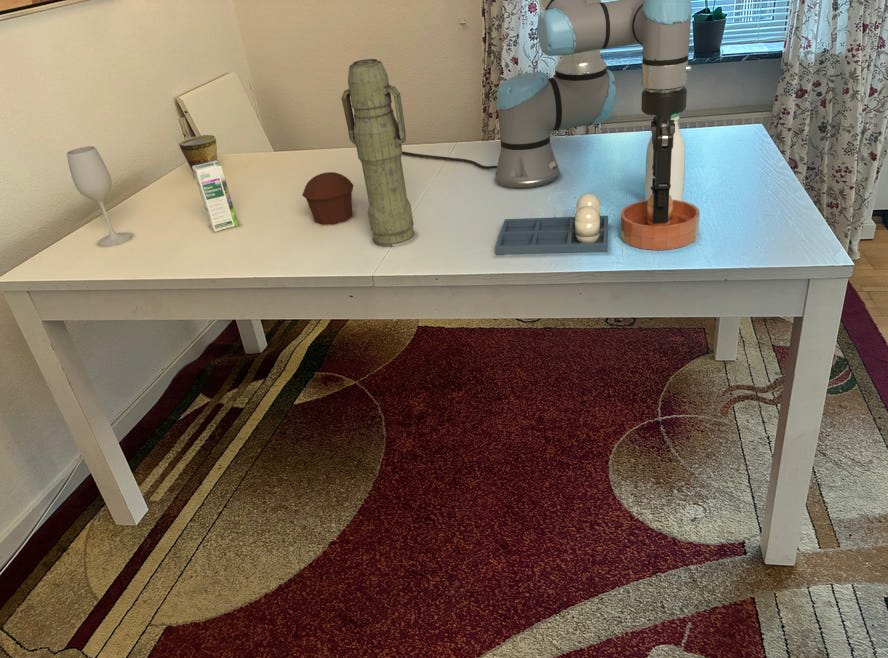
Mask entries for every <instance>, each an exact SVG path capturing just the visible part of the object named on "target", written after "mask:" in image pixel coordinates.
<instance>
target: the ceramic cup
mask: <svg viewBox="0 0 888 658" xmlns="http://www.w3.org/2000/svg"><path fill="white" fill-rule="evenodd" d="M178 145H179V149H180V151H181V152H182V155H183V156H184V158H185V159H186V161H187V164H188V166H189V168H190V170H191V171H192V174H193V176H194V177H195V175H194V172H193V169H192V166H195V165H200V164H204V163H208V162H213V161H216V160H217V161H218V146H217V138H216V136H215V135H212V134H203V135H196V136H191V137H188V138H185V139H182V140H180V141H179V142H178ZM218 162H219V161H218Z"/></svg>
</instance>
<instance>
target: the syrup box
mask: <svg viewBox="0 0 888 658" xmlns="http://www.w3.org/2000/svg"><path fill="white" fill-rule="evenodd" d="M217 160H218V159H217ZM217 160H216V161H213V162H208V163H204V164H200V165H195V166H192V169H193V172H194V174H193V176H194V175H195V176H194V178H195V181H196V184H197V187H198V191H199V194H200V197H201V200H202V203H203V204H202V205H203V207H204V210H205V214H206V216H207V220H208V223H209V226H210V228H211V229H212V230H213V231H214V232H220V231H222V230H226V229H227V230H228V229H231V228H234V227H238V226H239V221H238V218H237V214H236V211H235V208H234V204H233V201H232V197H231V194H230V191H229V187H228V184H227V183H228V182H227V180H226V177H225V174H224V169H223V166H222V165H221V163H220V162H219V161H217ZM193 172H192V173H193Z"/></svg>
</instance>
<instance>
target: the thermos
mask: <svg viewBox="0 0 888 658" xmlns="http://www.w3.org/2000/svg"><path fill="white" fill-rule="evenodd" d="M347 84H348V88H347V89H345V90H344V91H343V92H342V95H341V103H342V108H343V112H344V117H345V121H346V126H347V127H346V128H347V131H348V138H349V141H350V142H351V143H352V144H353V145H354V146H355V148H356V153H357V154H356V155H357V158H358V160H359V162H360V163H361V167H362V173H363V179H364V184H365V189H366V195H367V200H368V201H367V202H368V210H367V217H368V221H369V227H370V231H371V232H372V237H373V238H372V239H373V243H374V244H375V245H377V246H379V247H380V246H381V247H393V245H399V244H403V243H406V242H408V241H410V240H411V239H413V238H414V237H415V231H414V217H413V211H412V205H411V202H410V201H409V199H408V196H407V190H406V182H405V176H404V175H405V174H404V169H403V162H402V155H403V154H402V151H403V147H402V144H404V143H406V142H407V133H406V126H405V118H404V110H403V104H402V97H401V92H400V91H399V90H398V88H397V87H396V86H393V85H392V84H390V80H389V75H388V73H387V70H386V68H385V66H384V64H383V62H382V61H381V60H378V59H377V58H367V59H360V60H356V61H353V62H352V64H350V65H349V67H348V74H347ZM392 96H393V99H394V107H395V114H396V116H395V114H394V109H393V108H392V102H393V100H392Z"/></svg>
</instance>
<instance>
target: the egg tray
mask: <svg viewBox="0 0 888 658" xmlns="http://www.w3.org/2000/svg"><path fill="white" fill-rule="evenodd" d="M608 245H609V215H600V235H599V238H598V239H597V241H596V242H595V243H580V242H579V241H578V240H577V238H576V235H575V216H557V217H530V218H529V217H527V218H505V219H504V221H503V224H502V226H501V230H500V232H499V235H498V237H497V242H496V244H495V255H496V256H513V255H514V256H516V255H517V256H519V255H550V254H551V255H553V254H557V255H558V254H593V253H596V254H597V253H608V252H609V251H608V249H609V246H608Z"/></svg>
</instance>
